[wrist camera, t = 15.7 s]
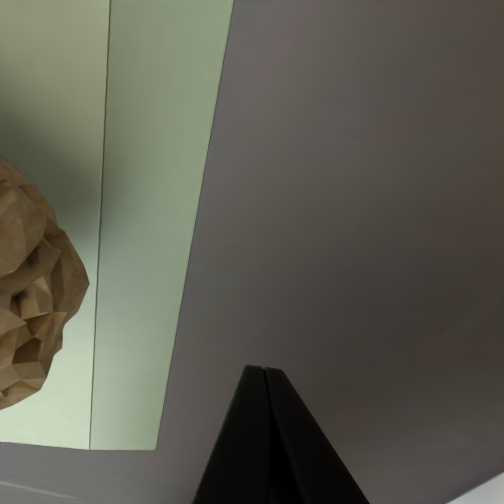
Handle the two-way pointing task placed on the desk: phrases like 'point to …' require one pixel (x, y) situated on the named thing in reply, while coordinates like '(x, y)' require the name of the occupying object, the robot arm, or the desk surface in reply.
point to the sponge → (32, 286)
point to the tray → (112, 193)
